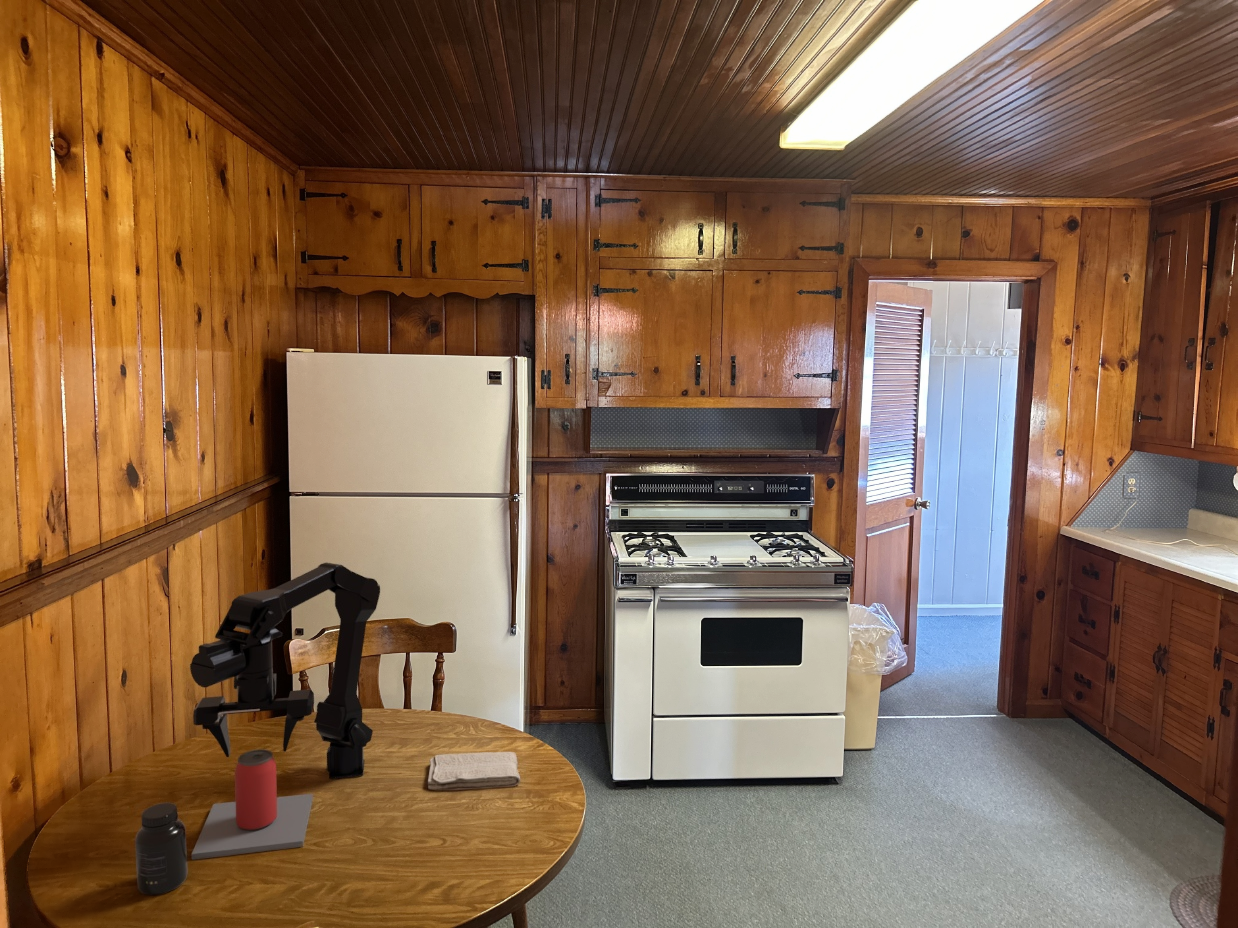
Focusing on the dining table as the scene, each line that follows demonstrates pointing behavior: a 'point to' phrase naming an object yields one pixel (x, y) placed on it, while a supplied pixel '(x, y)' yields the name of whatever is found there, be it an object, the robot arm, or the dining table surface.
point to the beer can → (255, 789)
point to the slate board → (232, 840)
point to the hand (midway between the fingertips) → (257, 753)
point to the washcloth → (473, 771)
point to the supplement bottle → (161, 850)
